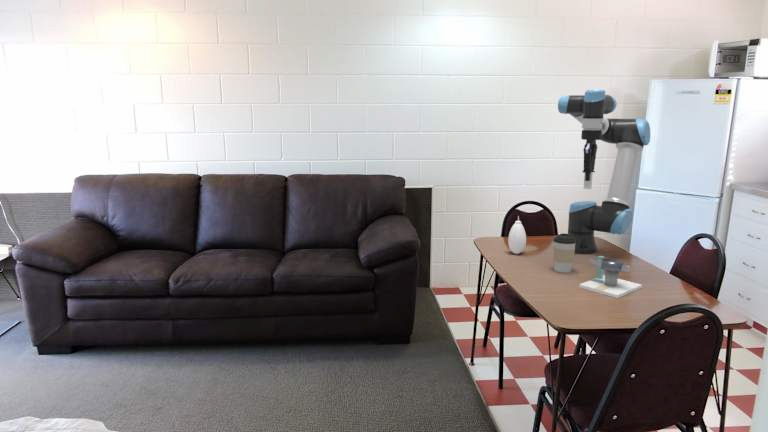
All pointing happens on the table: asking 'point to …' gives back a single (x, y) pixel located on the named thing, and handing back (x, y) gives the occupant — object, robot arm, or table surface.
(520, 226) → the sauce bottle
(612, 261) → the knob
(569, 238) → the coffee cup
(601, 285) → the lock base
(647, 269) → the table surface
